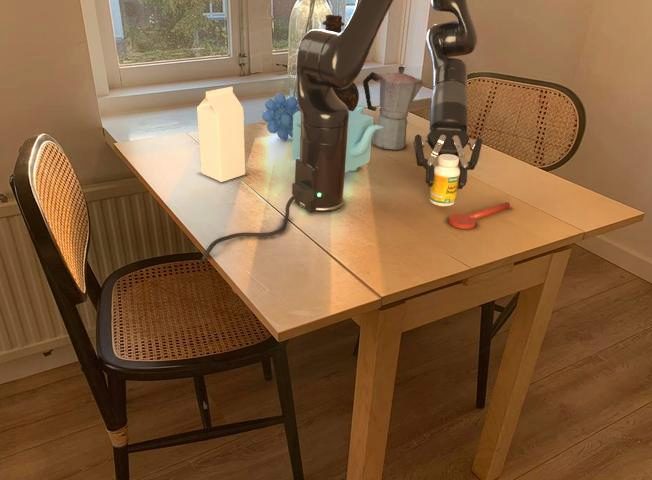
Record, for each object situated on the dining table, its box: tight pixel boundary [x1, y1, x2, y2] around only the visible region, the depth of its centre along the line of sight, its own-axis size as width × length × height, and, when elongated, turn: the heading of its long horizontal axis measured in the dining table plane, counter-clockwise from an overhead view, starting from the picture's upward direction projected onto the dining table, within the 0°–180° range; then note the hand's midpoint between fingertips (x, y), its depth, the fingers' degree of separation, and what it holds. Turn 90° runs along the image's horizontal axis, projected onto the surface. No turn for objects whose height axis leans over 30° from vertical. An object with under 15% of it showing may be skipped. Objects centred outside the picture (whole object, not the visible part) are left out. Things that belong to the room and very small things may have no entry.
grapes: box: [261, 93, 300, 140], centre depth 151 cm, size 12×7×12 cm, turn 105°
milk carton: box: [196, 86, 246, 183], centre depth 127 cm, size 7×7×19 cm
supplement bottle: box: [428, 154, 460, 207], centre depth 118 cm, size 5×5×10 cm
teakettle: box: [291, 103, 383, 174], centre depth 134 cm, size 19×19×15 cm
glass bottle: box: [322, 14, 360, 111], centre depth 165 cm, size 18×18×28 cm
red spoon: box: [448, 201, 511, 230], centre depth 119 cm, size 17×5×1 cm, turn 125°
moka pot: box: [362, 66, 426, 151], centre depth 149 cm, size 10×15×20 cm, turn 89°
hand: (445, 186), depth 117 cm, fingers closed on supplement bottle, 5 cm apart
